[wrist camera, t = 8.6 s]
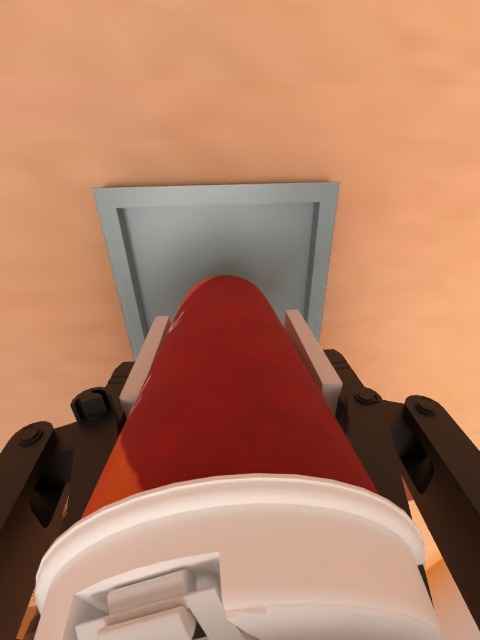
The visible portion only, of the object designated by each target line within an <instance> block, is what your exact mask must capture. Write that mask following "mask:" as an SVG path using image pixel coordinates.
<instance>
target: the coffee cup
mask: <svg viewBox="0 0 480 640" xmlns="http://www.w3.org/2000/svg"><path fill="white" fill-rule="evenodd" d="M421 564H423V565H424V569H425V552H424V542H423V540H422V537H421V535H420V532H419V530H418V528H417V526H416V524H415V523H414V522H413V521H412V519H411V518H410V517H409V516H408V515H407V513H406V512H405V511H404V510H402V509H401V508H399V507H398V506H397V505H395V504H394V503H392V502H391V501H390V500H388V499H387V498H384V497H382V496H380V495H379V493H378V491H377V490H376V488H375V486H374V484H373V483H372V481H371V479H370V477H369V476H368V474H367V472H366V470H365V469H364V467H363V465H362V463H361V462H360V460H359V458H358V456H357V455H356V453H355V451H354V449H353V448H352V446H351V444H350V442H349V441H348V439H347V437H346V435H345V434H344V432H343V430H342V428H341V427H340V425H339V423H338V421H337V419H336V418H335V416H334V414H333V412H332V411H331V409H330V407H329V405H328V404H327V402H326V400H325V398H324V397H323V395H322V393H321V391H320V390H319V388H318V386H317V384H316V383H315V381H314V379H313V377H312V376H311V374H310V372H309V370H308V369H307V367H306V365H305V363H304V361H303V360H302V358H301V356H300V354H299V353H298V351H297V349H296V347H295V346H294V344H293V342H292V341H291V339H290V337H289V335H288V334H287V332H286V330H285V328H284V327H283V325H282V323H281V321H280V320H279V318H278V316H277V315H276V313H275V311H274V310H273V308H272V306H271V305H270V303H269V301H268V300H267V298H266V297H265V295H264V294H263V293H262V292H261V290H260V289H259V288H258V287H256V286H255V285H254V284H253V283H251V282H250V281H248V280H246V279H243V278H241V277H237V276H232V275H219V276H213V277H210V278H207V279H205V280H203V281H201V282H199V283H198V284H197V285H195V286H194V287H193V288H192V289H191V290H190V291H189V292H188V294H187V295H186V297H185V298H184V300H183V302H182V303H181V305H180V307H179V309H178V311H177V313H176V315H175V317H174V319H173V321H172V324H171V326H170V328H169V330H168V332H167V334H166V336H165V338H164V340H163V343H162V345H161V347H160V349H159V351H158V353H157V355H156V358H155V360H154V362H153V364H152V366H151V368H150V370H149V373H148V375H147V377H146V379H145V381H144V383H143V386H142V388H141V390H140V392H139V394H138V396H137V399H136V401H135V403H134V405H133V407H132V409H131V412H130V414H129V416H128V418H127V420H126V422H125V425H124V427H123V429H122V431H121V433H120V435H119V438H118V440H117V442H116V444H115V446H114V448H113V450H112V453H111V455H110V457H109V459H108V461H107V463H106V466H105V468H104V470H103V472H102V474H101V476H100V479H99V481H98V483H97V485H96V487H95V489H94V492H93V494H92V496H91V498H90V500H89V502H88V504H87V507H86V509H85V511H84V513H83V515H82V517H81V520H80V521H78V522H76V523H75V524H74V525H72V526H71V527H70V528H69V529H68V530H66V531H65V532H64V533H63V534H62V535H60V536H59V537H58V538H57V539H56V540H55V541H54V543H53V544H52V545H51V547H50V548H49V549H48V551H47V552H46V553H45V555H44V556H43V558H42V561H41V563H40V566H39V569H38V572H37V574H36V588H35V594H36V606H37V608H38V610H39V612H40V615H41V617H40V620H39V624H38V627H37V630H36V634H35V637H34V640H443V633H442V630H441V626H440V623H439V621H438V618H437V615H436V613H435V610H434V608H433V605H432V602H431V600H430V597H429V595H428V592H427V589H426V587H425V584H424V582H423V579H422V577H421V574H420V572H419V569H418V567H417V565H421Z"/></svg>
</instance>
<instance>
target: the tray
mask: <svg viewBox="0 0 480 640" xmlns="http://www.w3.org/2000/svg"><path fill="white" fill-rule="evenodd" d="M339 185H340V182H300V183H260V184H221V185H181V186H141V187H103V188H92V189H93V193H94V197H95V201H96V205H97V209H98V214H99V218H100V222H101V226H102V230H103V234H104V238H105V242H106V246H107V250H108V255H109V259H110V263H111V267H112V271H113V275H114V279H115V283H116V287H117V291H118V296H119V300H120V304H121V308H122V312H123V316H124V320H125V324H126V328H127V332H128V337H129V341H130V345H131V349H132V353H133V357H134V361H136V359H137V357H138V355H139V353H140V350H141V348H142V346H143V344H144V341H145V339H146V337H147V335H148V333H149V330H150V328H151V326H152V324H153V322H154V319H155V317H156V316H169V318H170V324H172V321H173V319H174V317H175V315H176V313H177V311H178V309H179V307H180V305H181V303H182V302H183V300H184V298H185V297H186V295H187V294H188V292H189V291H190V290H191V289H192V288H193V287H194V286H195V285H197V284H198V283H199V282H201V281H203V280H205V279H207V278H210V277H213V276H219V275H232V276H237V277H241V278H243V279H246V280H248V281H250V282H251V283H253V284H254V285H255V286H256V287H258V288H259V289H260V290H261V292H262V293H263V294H264V295H265V297H266V298H267V300H268V301H269V303H270V305H271V306H272V308H273V310H274V311H275V313H276V315H277V316H278V318H279V320H280V321H281V323H282V325H283V327H284V325H285V310H294V309H298V310H299V312H300V313H301V315H302V317H303V318H304V320H305V322H306V323H307V325H308V327H309V328H310V330H311V332H312V333H313V335H314V337H315V338H316V340H317V341H318V343H319V337H320V330H321V322H322V315H323V307H324V299H325V292H326V284H327V277H328V269H329V261H330V254H331V246H332V238H333V231H334V223H335V216H336V208H337V200H338V193H339Z"/></svg>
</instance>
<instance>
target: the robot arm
mask: <svg viewBox="0 0 480 640" xmlns="http://www.w3.org/2000/svg"><path fill="white" fill-rule="evenodd" d="M170 326H171V324H170V318H169V316H156V317H155V319H154V322H153V324H152V326H151V328H150V330H149V333H148V335H147V337H146V339H145V341H144V344H143V346H142V348H141V350H140V353H139V355H138V357H137V359H136V361H135V362H123V363H122V364H120V365H119V366H118V367H117V368H116V369H115V370H114V372H113V374H112V376H111V378H110V380H109V381H108V384H107V385H106V387H105V388H104V387H96V388H91V389H88V390H85V391H83V392H82V393H80V394H78V395H77V396H76V397H75V398H74V399H73V400H72V402H71V405H70V406H71V408H72V411H73V413H74V415H75V418H76V420H77V422H74V423H72V424H68V425H65V426H62V427H58V428H55V429H54V428H53V426H52V424H51V423H49V422H47V421H40V422H36V423H32V424H30V425H28V426H26V427H23V428H22V429H21V430H19V431H18V432H16V433H15V434H14V435H13V436H12V438H11V439H10V440H9V441H8V443H7V444H6V446H5V447H4V449H3V450H2V452H1V453H0V640H19V639H16V636H17V634H18V631H19V628H20V626H21V622H22V620H23V617H24V615H25V612H26V609H27V607H28V604H29V601H30V598H31V596H32V593H33V590H34V588H35V585H36V574H37V572H38V569H39V566H40V563H41V561H42V558H43V556H44V555H45V553H46V552H47V551H48V549H49V548H50V547H51V545H52V544H53V543H54V541H55V540H56V539H57V538H58V537H59V536H60V535H62V534H63V533H64V532H65V531H66V530H68V529H69V528H70V527H71V526H72V525H74V524H75V523H76V522H78V521H80V520H81V517H82V515H83V513H84V511H85V509H86V507H87V504H88V502H89V500H90V498H91V496H92V494H93V492H94V489H95V487H96V485H97V483H98V481H99V479H100V476H101V474H102V472H103V470H104V468H105V466H106V463H107V461H108V459H109V457H110V455H111V453H112V450H113V448H114V446H115V444H116V442H117V440H118V438H119V435H120V433H121V431H122V429H123V427H124V425H125V422H126V420H127V418H128V416H129V414H130V412H131V409H132V407H133V405H134V403H135V401H136V399H137V396H138V394H139V392H140V390H141V388H142V386H143V383H144V381H145V379H146V377H147V375H148V373H149V370H150V368H151V366H152V364H153V362H154V360H155V358H156V355H157V353H158V351H159V349H160V347H161V345H162V343H163V340H164V338H165V336H166V334H167V332H168V330H169V328H170ZM284 328H285V330H286V332H287V334H288V335H289V337H290V339H291V341H292V342H293V344H294V346H295V347H296V349H297V351H298V353H299V354H300V356H301V358H302V360H303V361H304V363H305V365H306V367H307V369H308V370H309V372H310V374H311V376H312V377H313V379H314V381H315V383H316V384H317V386H318V388H319V390H320V391H321V393H322V395H323V397H324V398H325V400H326V402H327V404H328V405H329V407H330V409H331V411H332V412H333V414H334V416H335V418H336V419H337V421H338V423H339V425H340V427H341V428H342V430H343V432H344V434H345V435H346V437H347V439H348V441H349V442H350V444H351V446H352V448H353V449H354V451H355V453H356V455H357V456H358V458H359V460H360V462H361V463H362V465H363V467H364V469H365V470H366V472H367V474H368V476H369V477H370V479H371V481H372V483H373V484H374V486H375V488H376V490H377V491H378V493H379V495H380V496H382V497H384V498H387V499H388V500H390V501H391V502H392V503H394V504H395V505H397V506H398V507H399V508H401V509H402V510H404V511H405V512H406V513H407V515H408V516H409V517H410V518H411V519H412V517H411V513H410V509H409V504H408V500H407V496H406V492H405V488H404V484H403V480H402V477H403V479H404V481H405V483H406V485H407V487H408V489H409V491H410V493H411V495H412V497H413V499H414V501H415V503H416V505H417V507H418V509H419V511H420V513H421V515H422V517H423V519H424V521H425V523H426V525H427V527H428V529H429V531H430V533H431V535H432V537H433V539H434V541H435V543H436V545H437V547H438V549H439V551H440V553H441V555H442V557H443V559H444V561H445V563H446V565H447V567H448V569H449V571H450V573H451V575H452V577H453V579H454V581H455V583H456V585H457V587H458V589H459V590H460V592H461V595H462V597H463V599H464V601H465V603H466V605H467V607H468V609H469V611H470V613H471V615H472V616H473V618H474V620H475V622H476V624H477V626H478V628H479V630H480V451H479V450H478V449H477V447H476V446H475V445H474V444H473V443H472V441H471V440H470V439H469V438H468V437H467V435H466V434H465V433H464V432H463V431H462V429H461V428H460V427H459V426H458V425H457V423H456V422H455V421H454V420H453V419H452V417H451V416H450V415H449V414H448V413H447V411H446V410H445V409H444V408H443V407H442V406H441V405H440V404H439V403H437V402H436V401H434V400H432V399H430V398H427V397H424V396H419V395H413V396H409V397H408V398H406V400H405V403H404V404H403V403H397V402H391V401H386V400H382V398H381V396H380V395H379V394H378V393H377V392H375V391H373V390H372V389H370V388H366V387H364V386H363V384H362V383H361V381H360V380H359V378H358V377H357V376H356V374H355V373H354V371H353V370H352V368H351V367H350V366H349V364H348V363H347V361H346V360H345V358H344V357H343V355H342V354H340V353H339V352H337V351H336V350H334V349H330V350H322V348H321V346H320V345H319V343H318V341H317V340H316V338H315V337H314V335H313V333H312V332H311V330H310V328H309V327H308V325H307V323H306V322H305V320H304V318H303V317H302V315H301V313H300V312H299V310H298V309H294V310H285V325H284ZM401 475H402V476H401ZM68 495H69V499H68V508H67V516H66V519H64V520H63V521H61V522H60V523H59V520H60V517H61V514H62V512H63V509H64V506H65V504H66V501H67V498H68ZM58 523H59V524H58ZM417 567H418V569H419V572H420V574H421V577H422V579H423V582H424V584H425V587H426V589H427V592H428V595H429V597H430V600H431V602H432V598H431V594H430V590H429V586H428V582H427V578H426V574H425V569H424V565H423V564H421V565H417ZM432 605H433V602H432ZM433 608H434V606H433ZM40 617H41V615H40V612H39V610H38V608H37V606H36V608H35V611H34V614H33V617H32V619H31V622H30V624H29V626H28V629H27V631H26V634H25V636H24V638H23V640H34V637H35V634H36V630H37V627H38V624H39V620H40Z"/></svg>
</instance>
